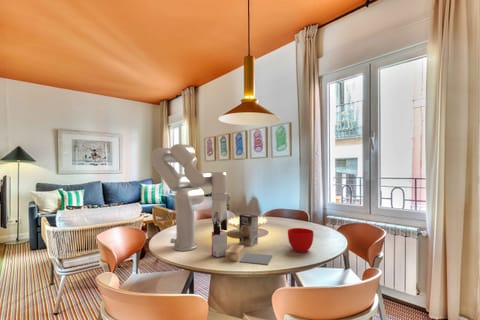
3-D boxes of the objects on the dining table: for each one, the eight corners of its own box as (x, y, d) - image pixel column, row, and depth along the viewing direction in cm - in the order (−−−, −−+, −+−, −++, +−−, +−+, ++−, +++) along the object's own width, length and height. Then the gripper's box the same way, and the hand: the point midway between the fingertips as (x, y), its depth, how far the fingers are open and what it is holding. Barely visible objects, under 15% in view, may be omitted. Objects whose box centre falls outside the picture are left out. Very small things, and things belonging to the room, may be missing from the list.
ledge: (225, 260, 119) (225, 251, 119) (232, 252, 130) (232, 244, 130) (237, 261, 118) (237, 252, 118) (244, 253, 128) (243, 245, 128)
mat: (239, 262, 117) (239, 261, 117) (246, 253, 128) (246, 252, 128) (268, 264, 113) (268, 264, 113) (272, 255, 125) (272, 255, 125)
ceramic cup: (304, 243, 144) (303, 225, 145) (318, 253, 128) (318, 233, 128) (281, 245, 142) (281, 226, 143) (293, 255, 126) (293, 234, 126)
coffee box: (238, 243, 146) (238, 214, 147) (246, 240, 151) (246, 213, 152) (251, 246, 140) (250, 216, 141) (258, 243, 145) (258, 215, 145)
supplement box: (227, 255, 125) (227, 232, 126) (217, 258, 122) (217, 234, 122) (221, 252, 130) (221, 229, 130) (211, 255, 127) (211, 231, 127)
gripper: (218, 195, 136) (219, 228, 135) (205, 198, 119) (206, 236, 119) (232, 195, 134) (233, 228, 133) (220, 198, 117) (221, 237, 117)
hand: (220, 232), depth 126 cm, fingers open, 9 cm apart
